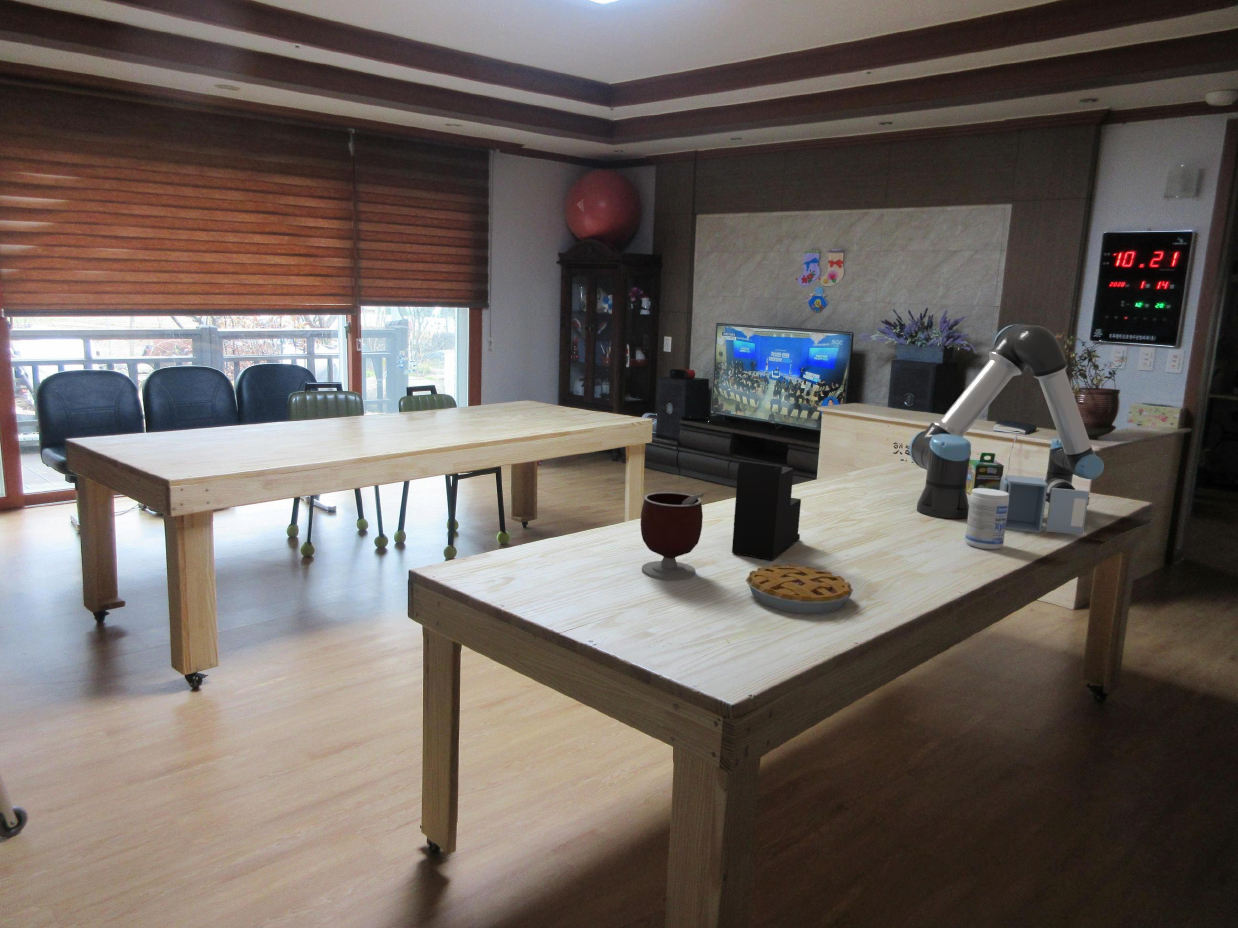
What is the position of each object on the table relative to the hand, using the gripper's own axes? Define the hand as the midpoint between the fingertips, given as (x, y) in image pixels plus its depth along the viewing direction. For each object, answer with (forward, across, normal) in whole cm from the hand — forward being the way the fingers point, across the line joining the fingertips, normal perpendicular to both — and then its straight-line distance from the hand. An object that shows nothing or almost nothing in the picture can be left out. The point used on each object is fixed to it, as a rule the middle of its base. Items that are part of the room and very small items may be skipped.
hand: (1074, 510), depth 253 cm
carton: (0, +14, -7) cm, 15 cm away
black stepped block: (+56, +78, -7) cm, 96 cm away
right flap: (+4, +2, -6) cm, 8 cm away
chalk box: (-41, +21, -7) cm, 47 cm away
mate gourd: (+88, +95, -7) cm, 129 cm away
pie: (+92, +66, -7) cm, 113 cm away
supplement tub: (+27, +25, -7) cm, 37 cm away
